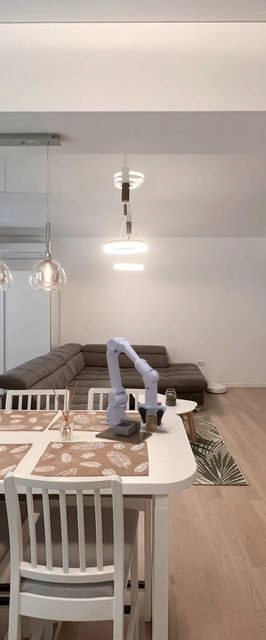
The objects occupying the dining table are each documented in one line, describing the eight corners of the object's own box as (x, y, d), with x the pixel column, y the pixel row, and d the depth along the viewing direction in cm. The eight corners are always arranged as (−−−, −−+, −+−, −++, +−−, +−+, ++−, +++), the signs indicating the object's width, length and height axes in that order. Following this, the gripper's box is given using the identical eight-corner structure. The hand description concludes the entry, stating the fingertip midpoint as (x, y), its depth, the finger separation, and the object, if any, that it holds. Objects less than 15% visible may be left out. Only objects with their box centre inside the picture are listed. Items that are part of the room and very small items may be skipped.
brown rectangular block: (146, 431, 183) (145, 416, 182) (149, 429, 186) (149, 414, 186) (153, 432, 181) (153, 417, 181) (157, 430, 184) (157, 415, 184)
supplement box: (155, 427, 189) (155, 404, 188) (145, 425, 192) (145, 402, 192) (161, 424, 193) (161, 401, 193) (152, 422, 197) (151, 400, 197)
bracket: (95, 437, 174) (95, 424, 174) (111, 428, 187) (110, 416, 187) (138, 444, 164) (138, 430, 164) (152, 435, 177) (151, 422, 177)
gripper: (134, 396, 183) (134, 424, 183) (161, 399, 176) (162, 428, 176) (140, 393, 189) (140, 420, 189) (167, 396, 182) (168, 424, 183)
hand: (151, 424), depth 183 cm, fingers open, 7 cm apart
